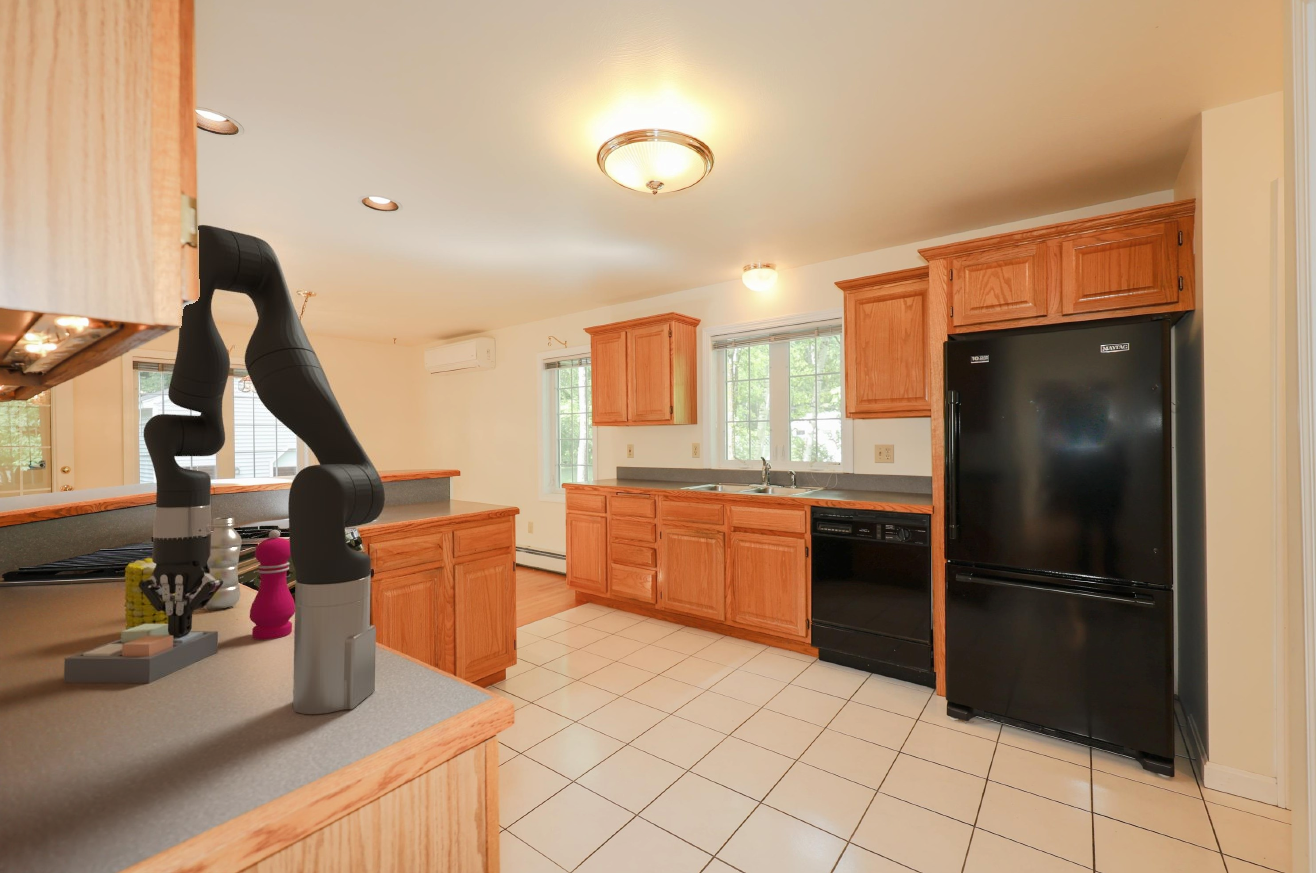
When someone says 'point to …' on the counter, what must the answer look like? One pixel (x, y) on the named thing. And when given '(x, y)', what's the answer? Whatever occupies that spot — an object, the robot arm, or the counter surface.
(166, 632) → the key
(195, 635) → the key
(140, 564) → the food
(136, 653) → the key
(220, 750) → the counter surface
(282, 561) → the pepper mill
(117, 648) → the key
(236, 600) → the plastic bottle
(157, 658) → the keypad
